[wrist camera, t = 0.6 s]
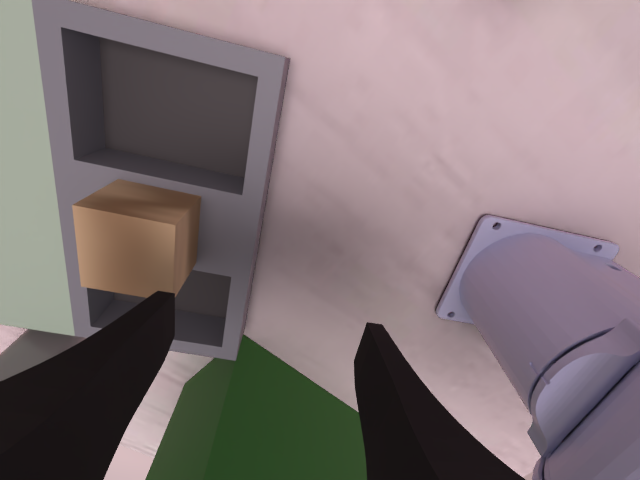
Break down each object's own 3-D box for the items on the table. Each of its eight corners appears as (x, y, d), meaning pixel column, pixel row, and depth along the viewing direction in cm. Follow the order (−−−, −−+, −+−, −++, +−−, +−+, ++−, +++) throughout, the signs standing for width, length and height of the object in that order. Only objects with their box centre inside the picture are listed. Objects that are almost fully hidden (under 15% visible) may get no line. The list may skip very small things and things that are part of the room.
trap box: (290, 58, 17) (285, 57, 14) (244, 329, 25) (235, 360, 22) (-64, -34, 15) (-146, -56, 12) (9, 290, 23) (-31, 320, 20)
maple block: (201, 196, 17) (175, 225, 14) (196, 262, 19) (172, 302, 16) (118, 178, 16) (72, 204, 13) (121, 249, 18) (81, 286, 15)
